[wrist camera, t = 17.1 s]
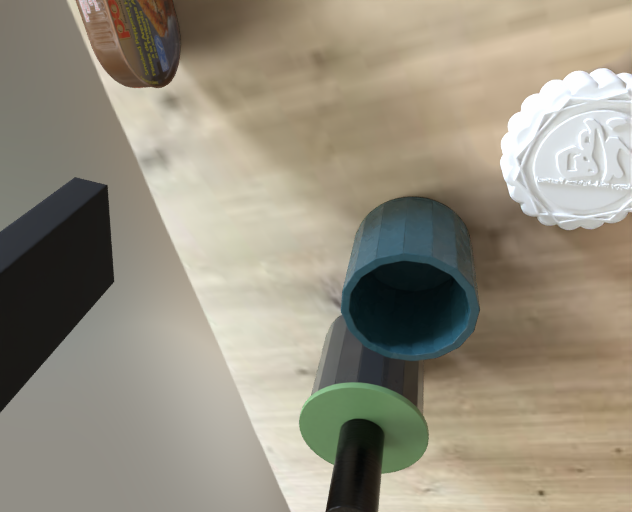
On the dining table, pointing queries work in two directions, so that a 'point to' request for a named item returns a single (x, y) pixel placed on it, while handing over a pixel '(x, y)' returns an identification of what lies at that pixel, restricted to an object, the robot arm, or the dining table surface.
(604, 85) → the mooncake
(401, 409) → the lid
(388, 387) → the cup
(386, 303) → the blue faceted pot
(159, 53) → the tin
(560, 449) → the dining table surface
